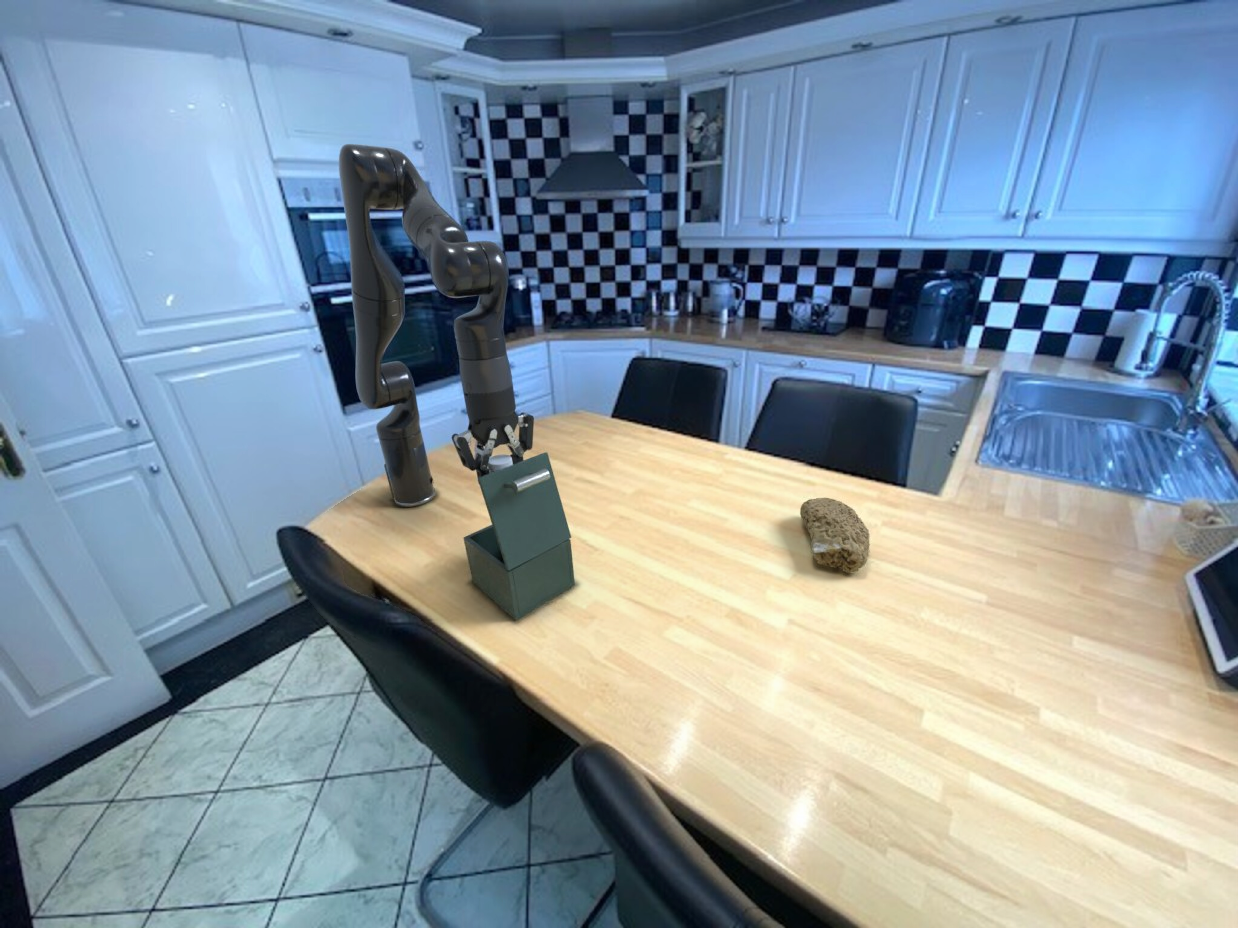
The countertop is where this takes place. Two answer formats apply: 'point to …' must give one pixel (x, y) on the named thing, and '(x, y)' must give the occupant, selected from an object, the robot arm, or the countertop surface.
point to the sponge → (836, 534)
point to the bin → (518, 573)
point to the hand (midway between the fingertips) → (502, 481)
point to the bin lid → (525, 509)
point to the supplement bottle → (499, 462)
